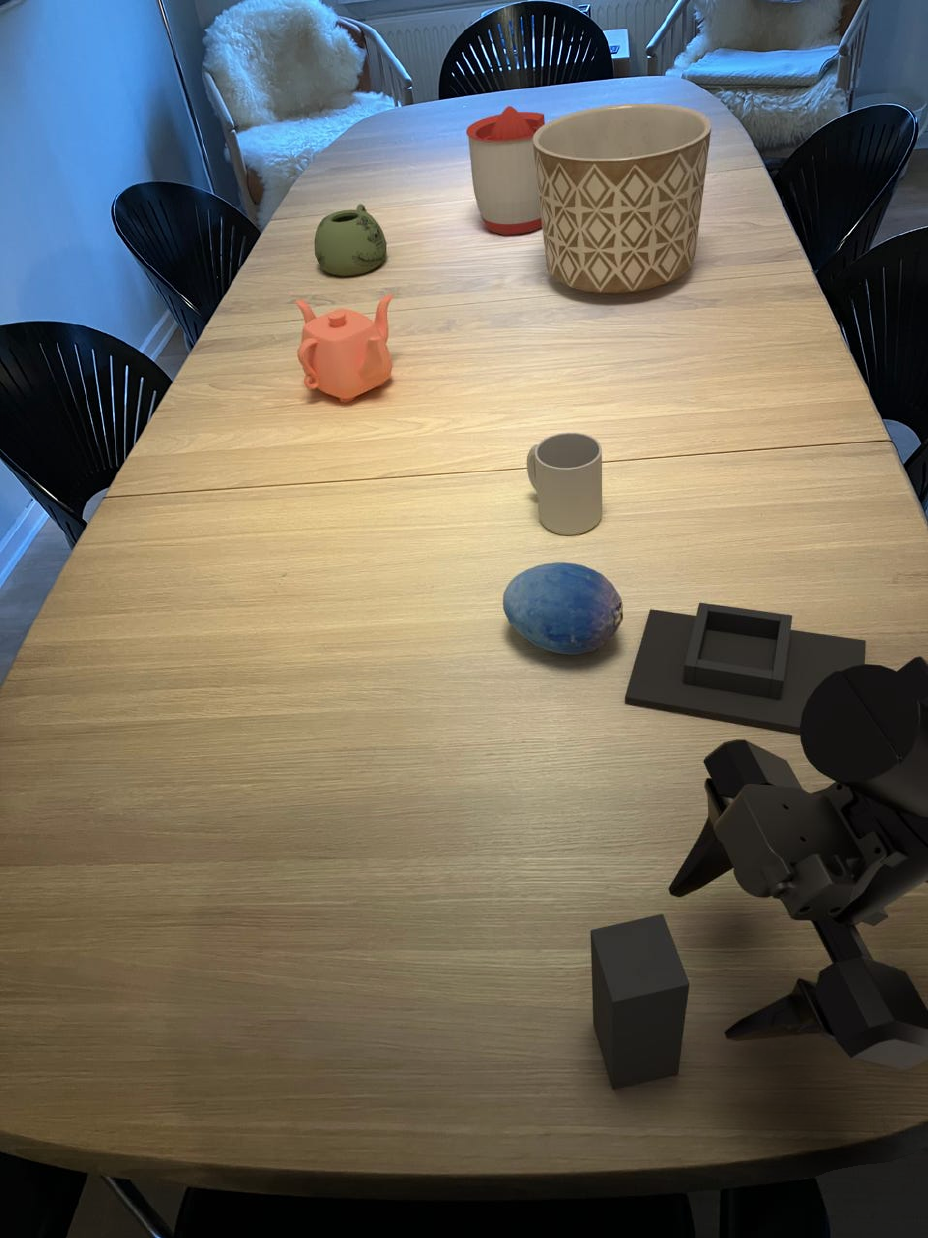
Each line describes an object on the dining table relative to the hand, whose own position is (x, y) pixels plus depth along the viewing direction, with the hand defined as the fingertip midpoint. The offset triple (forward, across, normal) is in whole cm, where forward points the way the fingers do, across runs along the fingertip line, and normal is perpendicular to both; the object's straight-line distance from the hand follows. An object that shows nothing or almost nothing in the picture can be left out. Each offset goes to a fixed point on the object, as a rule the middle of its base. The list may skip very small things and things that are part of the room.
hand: (699, 961), depth 55 cm
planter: (-15, -119, +30) cm, 123 cm away
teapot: (+17, -99, -2) cm, 101 cm away
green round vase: (+14, -144, +1) cm, 145 cm away
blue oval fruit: (+5, -39, +10) cm, 40 cm away
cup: (+3, -59, +12) cm, 61 cm away
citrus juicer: (-8, -148, +24) cm, 150 cm away
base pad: (-4, -30, +19) cm, 36 cm away
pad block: (+10, 0, +5) cm, 11 cm away
